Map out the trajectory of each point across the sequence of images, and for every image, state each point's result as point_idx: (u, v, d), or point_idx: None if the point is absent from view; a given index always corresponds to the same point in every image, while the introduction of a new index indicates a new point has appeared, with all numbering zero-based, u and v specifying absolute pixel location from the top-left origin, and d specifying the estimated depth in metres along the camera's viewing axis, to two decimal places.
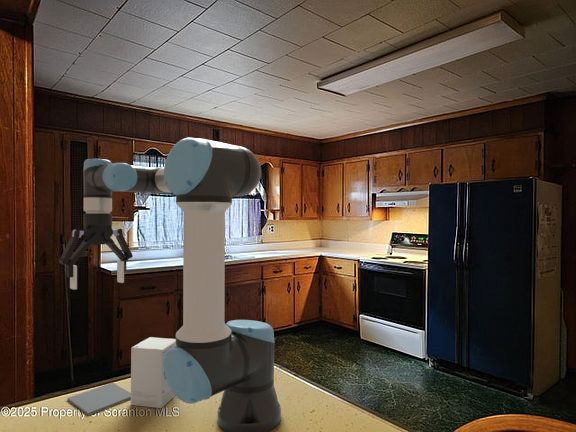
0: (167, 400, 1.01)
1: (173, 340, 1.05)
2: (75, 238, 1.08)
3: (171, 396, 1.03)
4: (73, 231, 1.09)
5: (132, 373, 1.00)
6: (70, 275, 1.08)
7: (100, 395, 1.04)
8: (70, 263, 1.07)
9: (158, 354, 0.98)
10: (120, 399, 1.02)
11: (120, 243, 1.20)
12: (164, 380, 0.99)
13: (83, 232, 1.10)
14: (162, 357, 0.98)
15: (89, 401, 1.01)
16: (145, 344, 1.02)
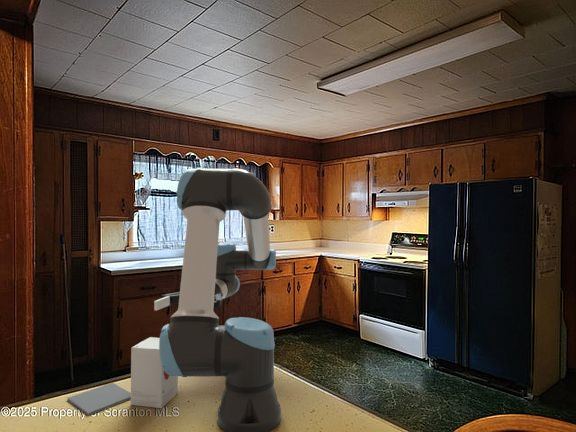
0: (167, 400, 1.01)
1: None
2: None
3: (171, 396, 1.03)
4: None
5: (132, 373, 1.00)
6: None
7: (100, 395, 1.04)
8: None
9: (158, 354, 0.98)
10: (120, 399, 1.02)
11: None
12: (164, 380, 0.99)
13: None
14: None
15: (89, 401, 1.01)
16: (145, 344, 1.02)
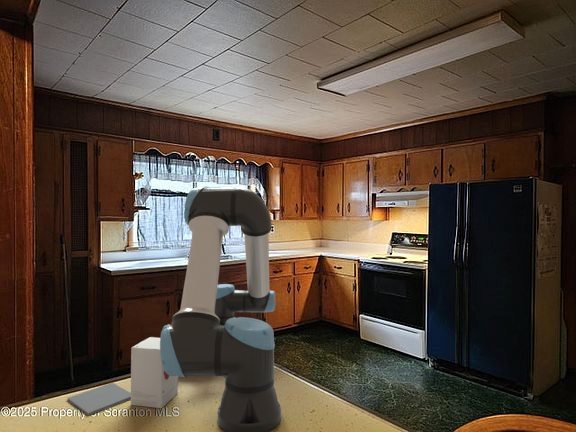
0: (167, 400, 1.01)
1: None
2: None
3: (171, 396, 1.03)
4: None
5: (132, 373, 1.00)
6: None
7: (100, 395, 1.04)
8: None
9: (158, 354, 0.98)
10: (120, 399, 1.02)
11: None
12: (164, 380, 0.99)
13: None
14: None
15: (89, 401, 1.01)
16: (145, 344, 1.02)
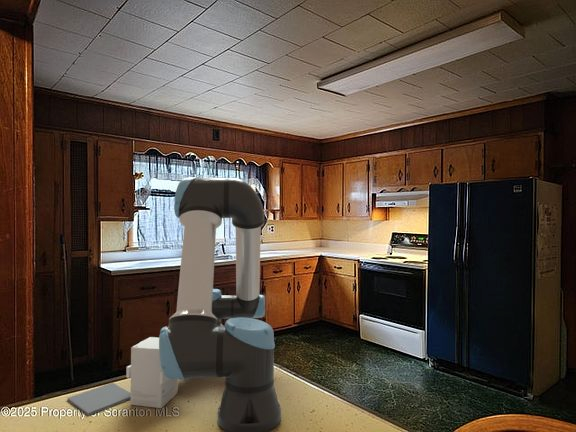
0: (167, 400, 1.01)
1: None
2: None
3: (171, 396, 1.03)
4: None
5: (132, 373, 1.00)
6: None
7: (100, 395, 1.04)
8: None
9: (158, 354, 0.98)
10: (120, 399, 1.02)
11: None
12: None
13: None
14: None
15: (89, 401, 1.01)
16: (145, 344, 1.02)
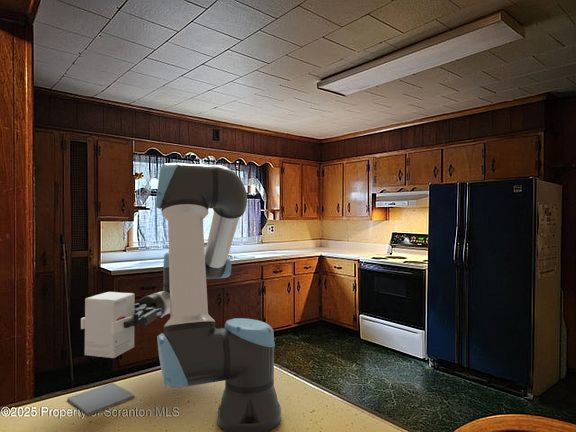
0: (121, 351, 1.02)
1: (129, 294, 1.06)
2: None
3: (126, 348, 1.04)
4: None
5: (86, 324, 1.01)
6: None
7: (100, 395, 1.04)
8: None
9: (110, 304, 0.99)
10: (120, 399, 1.02)
11: None
12: None
13: None
14: (114, 307, 0.99)
15: (89, 401, 1.01)
16: (99, 296, 1.03)
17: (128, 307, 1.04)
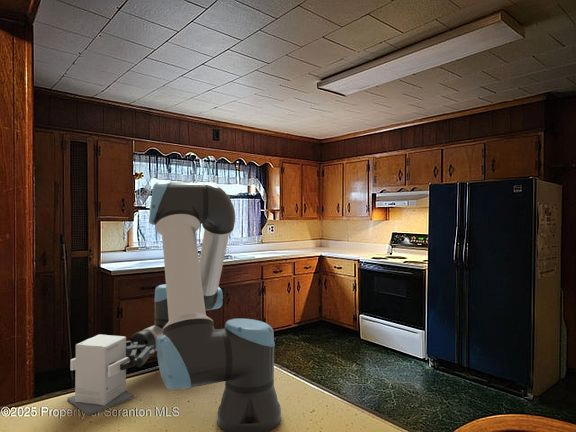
0: (112, 397, 1.01)
1: (120, 337, 1.05)
2: None
3: (117, 393, 1.03)
4: None
5: (76, 370, 1.00)
6: None
7: None
8: None
9: (101, 351, 0.98)
10: (120, 399, 1.02)
11: None
12: (107, 377, 0.99)
13: None
14: (105, 354, 0.98)
15: None
16: (90, 341, 1.02)
17: (119, 352, 1.04)
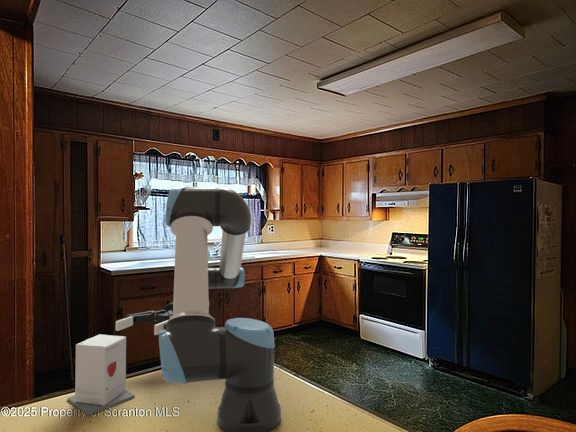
0: (112, 397, 1.01)
1: (120, 337, 1.05)
2: (148, 311, 1.29)
3: (117, 393, 1.03)
4: None
5: (76, 370, 1.00)
6: None
7: None
8: None
9: (101, 351, 0.98)
10: (120, 399, 1.02)
11: None
12: (107, 377, 0.99)
13: None
14: (105, 354, 0.98)
15: None
16: (90, 341, 1.02)
17: (119, 352, 1.04)
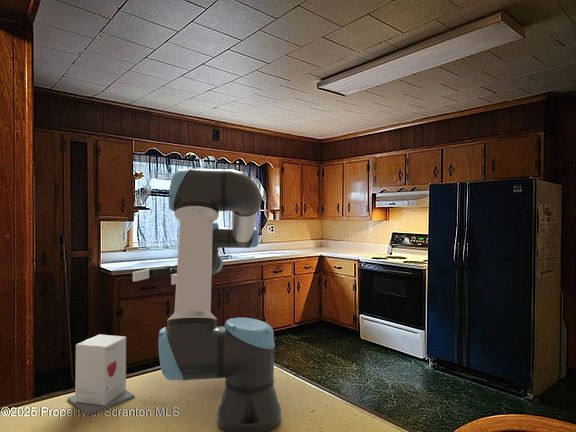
0: (112, 397, 1.01)
1: (120, 337, 1.05)
2: (163, 266, 1.30)
3: (117, 393, 1.03)
4: None
5: (76, 370, 1.00)
6: None
7: None
8: None
9: (101, 351, 0.98)
10: (120, 399, 1.02)
11: None
12: (107, 377, 0.99)
13: (172, 268, 1.31)
14: (105, 354, 0.98)
15: None
16: (90, 341, 1.02)
17: (119, 352, 1.04)
